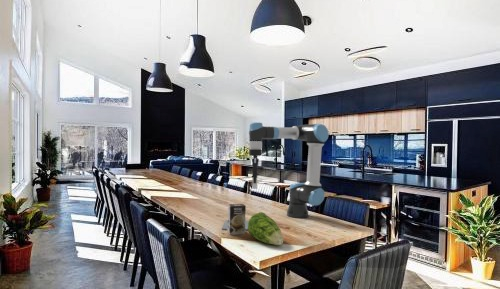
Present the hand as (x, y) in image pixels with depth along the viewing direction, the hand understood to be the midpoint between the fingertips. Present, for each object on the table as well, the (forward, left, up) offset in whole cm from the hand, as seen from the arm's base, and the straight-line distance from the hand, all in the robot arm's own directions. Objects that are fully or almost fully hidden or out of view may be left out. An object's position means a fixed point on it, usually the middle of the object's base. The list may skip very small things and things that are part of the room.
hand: (254, 187), depth 177 cm
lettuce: (-7, +19, -26) cm, 33 cm away
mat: (+10, -8, -25) cm, 28 cm away
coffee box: (+10, +6, -25) cm, 28 cm away
